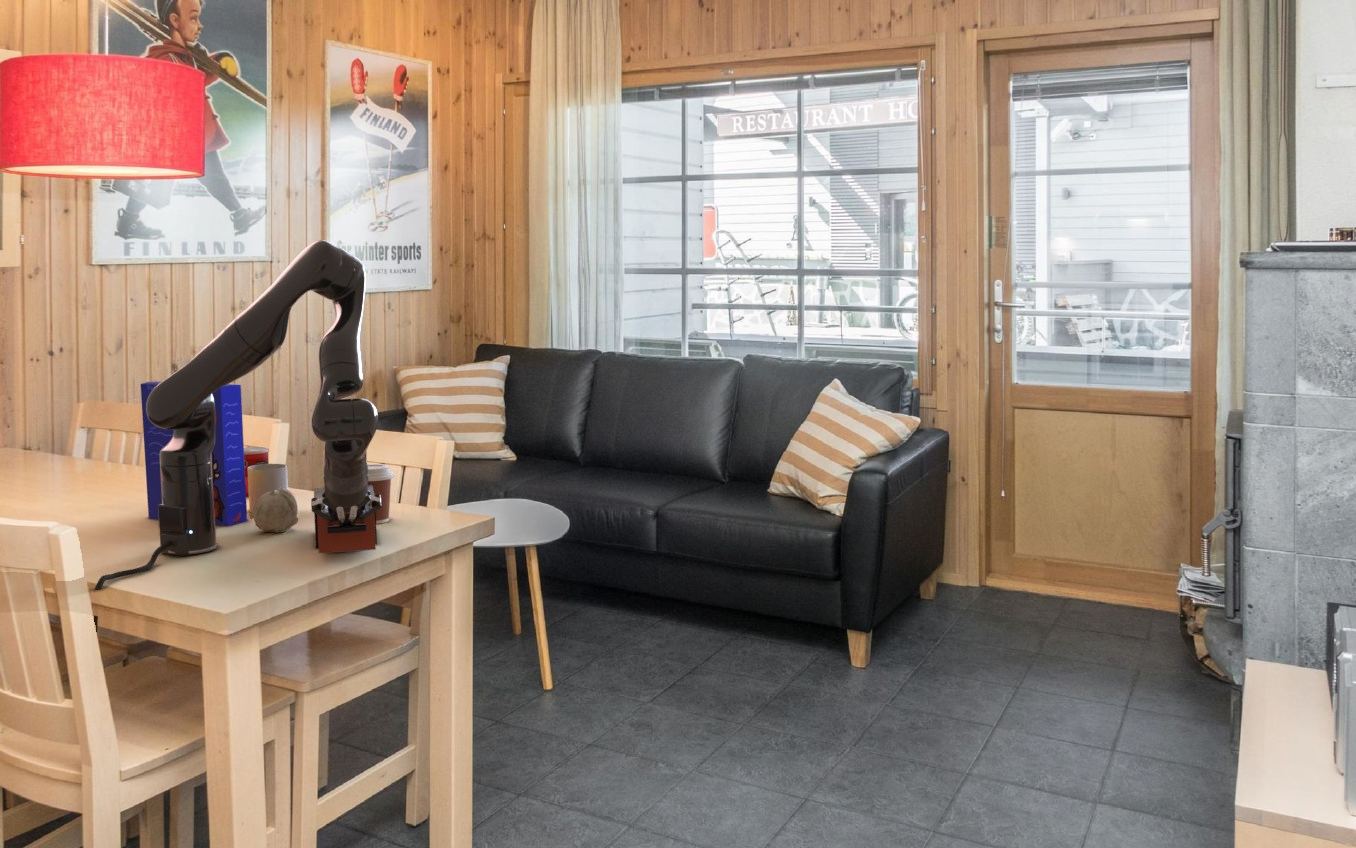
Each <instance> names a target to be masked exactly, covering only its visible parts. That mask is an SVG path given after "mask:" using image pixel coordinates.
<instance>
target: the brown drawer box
mask: <svg viewBox="0 0 1356 848" xmlns="http://www.w3.org/2000/svg"><path fill="white" fill-rule="evenodd" d="M345 513H348V512H345ZM317 519H318V543H319V548H318V554H331V553H346V552H359V551H374V550H376V549H377V547H376V545H375V517H374V513H373V514H371V515H370V516H369V517H367V518H366V519H365V520H362V521H361V520H359V519H357V520H356V521H355V524H354V525H339V521H335V522H329V521H327V520H326V519H324V518H322V517H320V516H319V515H317ZM346 532H347V533H346ZM348 532H351V533H348Z"/></svg>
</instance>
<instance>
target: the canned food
mask: <svg viewBox="0 0 1356 848" xmlns="http://www.w3.org/2000/svg"><path fill="white" fill-rule="evenodd" d="M244 463H245V483H246V497H249V489H248V469H247V468H248V467H249V466H253V465H260V464H270V463H269V450H268V447H263V446H249V447H248V446H247V447H246V446H244Z"/></svg>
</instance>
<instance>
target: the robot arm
mask: <svg viewBox="0 0 1356 848" xmlns="http://www.w3.org/2000/svg"><path fill="white" fill-rule="evenodd" d="M366 275H367V273H366V269H365V266H364V263H363V262H362V261H361V259H359V258H358V257H357V256H355V255H353V254H351V253H350V252H348V251H346V250H345V249H343V248H342V247H340V246H338V245H336V244H334V243H333V242H330V241H328V240H325V239H319V240H316V241H314V242H311V243H310V244H309V245H307V246H305V248H304V249H303V250H302V251H300V253H298V255H297V256H296V257H295V258H294V260H292V262H291V263H290V264H289V265H288V266H287V267H286V269H285V270H284V271H283V272H282V273H281V274H280V275H279V276H278V277H277V279H276V280H275V281H274V282H272V284H271V285H270V286H269V287H268V288H267V289H265V291H264V292H263V293H262V294H261V295H260V296H259V297H258V298H257V299H256V300H254V301H253V302H252V303H251V304H250V305H249V306H248V307H247V308H246V309H245V310H243V311H242V312H241V313H240V314H238V315H237V316H236V317H235V318H234V319H233V320H231V322H230V323H229V324H228V325H226V326H225V327H224V328H223V329H222V330H221V331H220V332H219V333H218V334H217V335H216V336H215V337H214V338H213V339H211V340H210V342H209V343H207V344H206V345H205V346H204V347H203V348H202V349H201V350H200V351H199V352H198V353H197V354H196V355H195V356H194V357H193V358H192V359H190V361H188V362H187V363H186V364H185V365H183V366H182V367H180V368H179V369H178V370H177V371H175V372H173V373H172V374H171V375H169V376H168V377H166V378H165V379H163V380H161V381H162V382H161V383H159V384H158V385H157V386H156V387H155V388H154V389H153V390H152V391H151V393H150V394H149V396H148V399H147V403H146V413H147V416H148V418H149V420H150V421H151V422H152V423H153V424H154V425H155V426H157V427H159V428H162V429H167V430H174V433H173V436H172V438H171V440H170V442H169V443H168V444H167V445H166V446H164V447H163V448H162V449H161V451H160V472H161V490H162V504H159V505H158V514H159V519H158V527H159V529H158V530H159V531H158V532H159V545H160V546H159V547H157V548H156V549H155V550H154V551H153V553H152V555H151V557H150V559H149V561H148V562H147V563H146V564H144V565H141V566H138V567H136V568H130V569H125V570H121V571H116V572H113V573H108V574H103V575H101V577H100V578H99V579H98V581H97V582H96V584H95V587H94V591H100V590H102V589H103V586H104V584H105V582H106V581H111V580H115V579H118V578H123V577H127V576H133V575H137V574H140V573H143V572H146V571H148V570H150V569H151V568H152V567H153V566H154V565H155V564H156V561H157V559H158V557H159V555H160V554H167V555H171V556H172V555H174V556H179V557H186V556H189V555H198V554H205V553H208V552H211V551H214V550H216V549H217V548H218V543H217V532H216V531H217V530H216V529H217V528H216V525H215V510H214V491H213V472H212V451H213V449H214V446H215V402H214V397H213V394H212V393H213V392H215V391H216V390H218V389H220V388H221V387H223V386H225V385H227V384H232V383H233V382H235V381H237V380H239V379H241V378H243V377H245V376H246V375H248V374H249V373H252V372H253V371H255V370H256V369H258V368H259V367H260V366H262V365H263V364H264V363H265V362H267V360H269V359H270V358H271V357H272V356H273V355H274V354H275V353H277V351H279V349H281V348H282V346H283V344H284V342H285V340H286V336H287V332H288V326H289V319H290V314H291V311H292V308H293V306H294V305H295V304H296V303H297V302H298V301H299V299H300V298H302V296H304V295H305V294H307V293H308V292H313V293H315V294H317V295H319V296H321V297H323V298H325V299H327V300H329V301H331V302H332V305H333V309H334V314H335V319H334V321H333V323H332V325H331V326H330V328H328V330H327V331H326V332H325V334H324V336H323V337H322V340H321V342H320V344H319V347H318V348H319V349H318V367H319V368H318V369H319V388H318V389H319V390H318V395H317V399H316V401H315V405H314V408H313V412H312V416H311V429H312V432H313V434H314V436H315V437H316V438H317V439H318V440H320V441H321V442H324V444H325V447H324V446H323V452H324V451H325V464H324V463H323V485H324V486H323V488H325V492H324V493H323V494H322V498H320V499H318V498H314V497H312V498H311V499H310V503H311V505H310V507H311V512H312V513H313V514H314V513H315V514H317V515H319V516H320V517H322V518H324V519H326V520H327V521H329V522H335V521H339V525H354V524H355V521H356V520H357V519H359V520H361V521H362V520H365V519H366V518H367V517H369V516H370V515H371V514H373V513H374V512H376V511H377V510H378V509H380V508H381V507H382V506H381V495H380V494H376V495H374V496H372V495H370V491H369V490H368V476H369V475H368V465H367V464H368V463H367V458H368V457H367V456H368V455H367V451H368V448H369V445H370V444H371V443H372V440H373V439H374V436H375V435H376V432H377V429H378V424H379V413H378V410H377V407H376V405H375V404H374V403H373V402H371V401H370V399H366V398H361V397H359V398H348V397H352V396H354V395H357V394H358V393H359V392H360V391H362V388H363V385H364V375H363V364H362V363H363V361H362V353H361V351H362V350H361V332H362V331H361V330H362V322H363V314H364V304H365V294H366V284H367V282H366V280H367V279H366V277H367V276H366ZM345 512H348V513H345ZM346 533H347V532H346ZM348 533H351V532H348ZM93 615H94V614H93ZM94 622H95V625H96V632H97V633H98V624H99V616H98V615H94Z"/></svg>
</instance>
